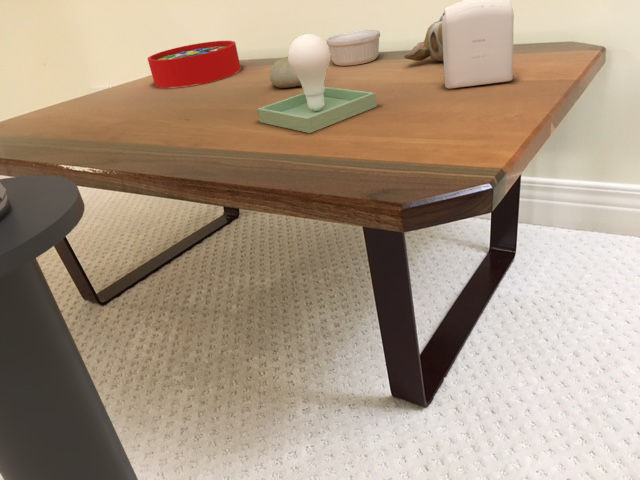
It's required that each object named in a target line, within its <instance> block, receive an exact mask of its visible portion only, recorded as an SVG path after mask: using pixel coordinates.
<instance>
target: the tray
mask: <svg viewBox="0 0 640 480" xmlns="http://www.w3.org/2000/svg"><path fill="white" fill-rule="evenodd" d="M324 87H325V91H324V102H325V103H324V104H325V105H324V106H323V107H322V108H321V109H320V110H319V111H314V110H313V109H310V108H309V107H308V104H307V99H306V95H305V94H304V92H302V93H299V94H297V95H293V96H290V97H288V98H285V99H281V100H279V101H276V102H273V103H269V104H267V105H264V106H260V107H259V108H257V114H258V119H259V122H260V123H261V124H267V125H272V126H275V127H281V128H284V129H289V130H294V131H298V132H303V133H306V134H312V133H314V132H317V131H319V130H322V129H325V128H327V127H329V126H332V125H334V124H337V123H339V122H342V121H344V120H347V119H349V118H351V117H354V116H357V115H359V114H362V113H365V112H367V111H370V110H372V109H374V108H377V106H378V105H377V95H376V92H371V91H363V90H362V91H361V90H354V89H348V88H347V89H346V88H338V87H332V86H331V87H330V86H324Z"/></svg>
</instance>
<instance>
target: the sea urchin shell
mask: <svg viewBox="0 0 640 480" xmlns="http://www.w3.org/2000/svg"><path fill="white" fill-rule="evenodd" d="M269 80H270V82H271V84H272V85H273V86H275V87H276V88H280V89H284V88H287V89H288V88H295V87H302V85H301V82H300V80H299V79H298V77H297V76H296V74H295V73H294V72H293V70H292V69H291V67H290V65H289V62H288V56H284V57H282V58H279V59H278V60H276V61H275V62H274V63H272V66H271V67H270V69H269Z"/></svg>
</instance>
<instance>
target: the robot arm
mask: <svg viewBox="0 0 640 480" xmlns="http://www.w3.org/2000/svg"><path fill="white" fill-rule="evenodd" d="M5 191H6V189H5V188H4V186H3V185H2V184H1V183H0V221H1V220H3V219H4V218H5V217H6V216H7V215H8V214H9V212H10V211H11V203H10V201H9V199H8V197H7V195H6V193H5Z"/></svg>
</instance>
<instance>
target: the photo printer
mask: <svg viewBox="0 0 640 480" xmlns="http://www.w3.org/2000/svg"><path fill="white" fill-rule="evenodd" d="M443 13H444V16H443V21H442V38H443V60H444V61H443V77H444V78H443V79H444V87H445V88H446V89H449V90H452V89H458V88H466V87H475V86H481V85H489V84H490V85H491V84H499V83H508V82H511V81H512V80H513V79H514V18H515V17H514V10H513V7H512V0H461V1H458V2H455V3H454V4H451V5H450V6H448V7H446V8H444V9H443Z"/></svg>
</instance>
